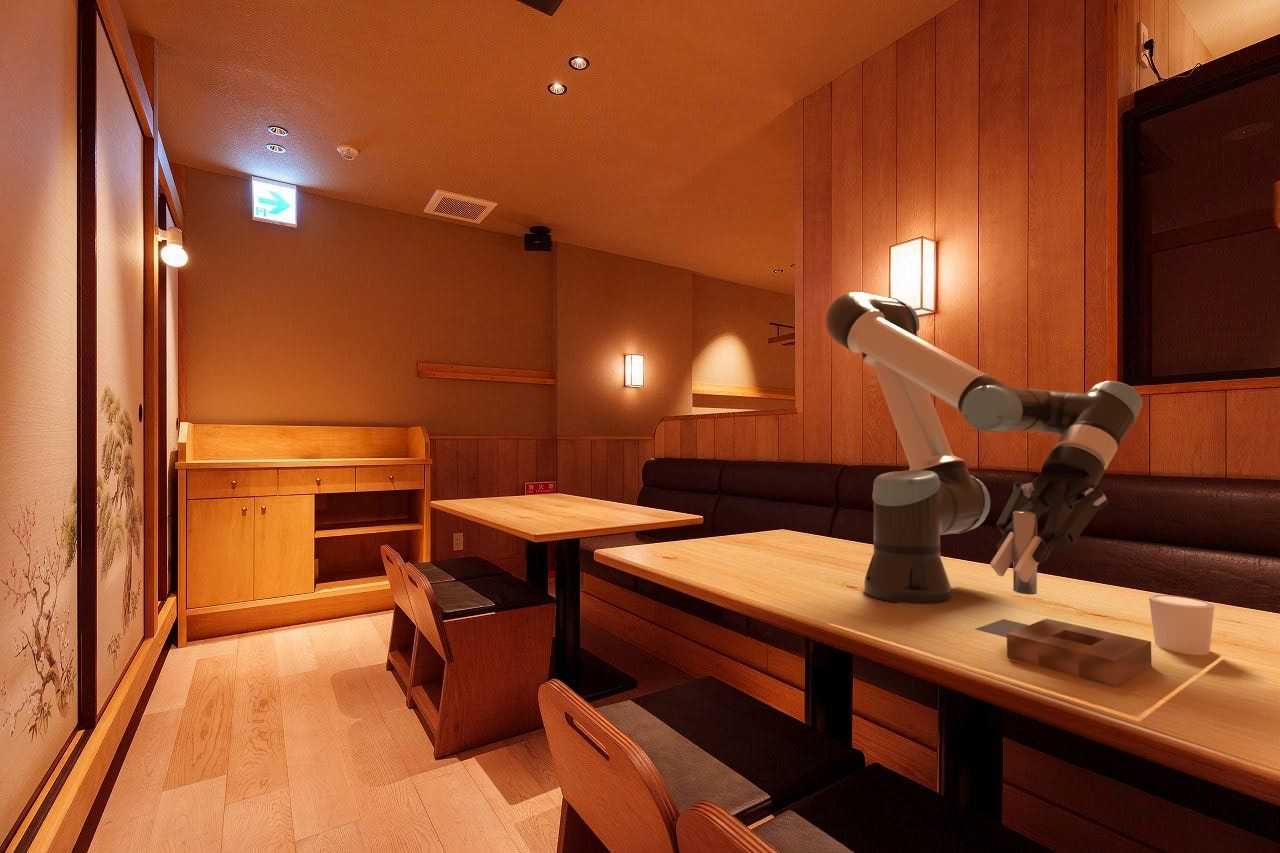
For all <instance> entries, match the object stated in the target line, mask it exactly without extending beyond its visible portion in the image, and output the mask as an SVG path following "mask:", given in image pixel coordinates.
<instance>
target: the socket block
mask: <svg viewBox="0 0 1280 853" xmlns="http://www.w3.org/2000/svg"><path fill="white" fill-rule="evenodd" d="M1027 625H1028V626H1026V627H1023V628H1020V629H1018V630H1015V631H1012V632H1010V633H1007V637H1006V656H1007V658H1008V659H1012V660H1016V661H1019V662H1023V663H1027V664H1029V665H1033V666H1038V667H1039V668H1040V667H1041V668H1044V669H1048V670H1052V671H1054V672H1058V673H1061V674H1065V675H1069V676H1072V677H1076V678H1080V679H1083V680H1086V681H1091V682H1093V683H1098V684H1102V685H1105V686H1108V687H1111V688H1118V687H1120V686H1121V685H1123V684H1124V683H1127V682H1128V681H1130V680H1131V679H1133V678H1135V677H1136V676H1138V675H1139V674H1141V673H1143V672H1144V671H1146V670H1147V669H1149V668H1151V667H1152V665H1153V664H1152V641H1150V640H1147V639H1146V640H1145V639H1143V638H1142V639H1141V638H1137V637H1132V636H1129V635H1123V634H1119V633H1115V632H1110V631H1105V630H1101V629H1097V628H1091V627H1088V626H1082V625H1078V624H1072V623H1070V622H1064V621H1059V620H1055V619H1051V618H1044V619H1042V620H1039V621H1037V622H1034V623H1032V624H1027Z"/></svg>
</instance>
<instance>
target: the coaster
mask: <svg viewBox="0 0 1280 853" xmlns="http://www.w3.org/2000/svg"><path fill="white" fill-rule="evenodd" d="M1028 625H1029V624H1026V623H1022V622H1019V621H1018V622H1017V621H1013V620H1008V619H1004V618H1002V619H999V620H997V621H994V622H991V623H989V624H985V625H983V626H980V627H977V628H975V630H977V631H980V632H984V633H988V634H991V635H996V636H1000V637H1004V638H1007V633H1010V632H1012V631H1015V630H1018V629H1020V628H1023V627H1026V626H1028Z"/></svg>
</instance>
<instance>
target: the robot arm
mask: <svg viewBox="0 0 1280 853" xmlns="http://www.w3.org/2000/svg"><path fill="white" fill-rule="evenodd" d="M825 328H826V331H827V332H828V335H829V336H830V338H831V339H832V340H834V342H836V343H837V344H839V345H840V346H842V347H844V348H846V349H847V350H849V351H851V352H853V353H854V354H861V356H862V359H863V362H864V363H865V364H866V365H868V366H870V367H873V369H874V371H875V374H876V376H877V380H878V383H879V385H880V388H881V390H882V393H883V396H884V398H885V402H886V405H887V408H888V410H889V413H890V415H891V416H890V417H891V418H892V421H893V424H894V426H895V430H896V432H897V434H898V438H899V440H900V443H901V446H902V450H903V452H904V454H905V458H906V460H907V462H908V466H909V469H908V470H900V471H898V470H896V471H891V472H890V471H888V472H885V473H881V474H880V475H877V476H876V478H875V479H874V481H873V486H872V488H873V489H872V494H871V498H872V499H871V500H872V515H873V516H872V518H873V519H872V520H873V521H872V522H873V527H872V529H873V553H872V557H871V560H870V562H869V564H868V569H867V571H866V574H865V577H864V593H865V594H866V595H868V596H869V597H873V598H875V599H879V600H881V601H886V602H892V603H896V604H897V603H905V604H914V605H935V604H943V603H947V602H950V601H951V599H952V586H951V583H950V581H949V577H948V574H947V571H946V569H945V566H944V564H943V561H942V557H941V536H943V535H951V534H954V535H957V534H958V535H960V534H962V533H966V532H969V531H971V530H974V529H976V528H978V527H979V526H980V525H981V524H982V523H984V522H985V520H986V519H987V516H988V515H989V512H990V509H991V497H990V493H989V491H988V489H987V487H986V486H985V484H984V482H982V481H981V480H980V479H978V478H976V477H974V476H973V475H971V474H970V472H969V470H968V467H967V464H966V462H965V460H964V459H963V458H961V457H958V456H956V455H954V453H953V450H952V449H951V448H952V447H951V446H950V443H949V440H948V438H947V436H946V433H945V431H944V428H943V425H942V423H941V420H940V418H939V415H938V413H937V410H936V406H935V405H934V402H933V399H932V397H931V395H932V396H935V397H936V398H938V399H939V400H941V401H943V402H944V403H946V404H947V405H949V406H951V407H952V408H954V409H956V410H958V411H959V412H961V413H962V415H963V417H964V419H965V421H966V422H967V424H968V425H970V426H971V427H972V428H974V429H976V430H980V431H984V432H988V433H1003V432H1006V433H1007V432H1024V433H1031V432H1032V433H1042V434H1050V435H1051V434H1052V435H1059V436H1060V437H1059V439H1058V440H1057V441H1056V443H1055V445H1054V446H1053V449H1052V450H1051V452H1050V453H1049V455H1048V456H1047V457H1046V459H1045V460H1044V462H1043V464H1042V466H1041V471H1040V474H1039V475H1038V476H1036V477H1035V478H1034V479H1033V480H1032V481H1031V482H1027V483H1022V482H1021V481H1019V480H1016V481H1015V482H1013V487H1012V488H1013V489H1012V493H1011V495H1010V497H1009V499H1008V501H1007V503H1006V504H1005V506H1004V508H1003V510H1002V512H1001V514H1000V516H999V518H998V520H997V521H996V524H995V525H996V527H997V528H998V529H999V531H1000V532H1001V534H1002V537H1001V539H1000V540H999V542H998V544H997V545H996V550H997V552H996V554H995V556H993V558H992V559H991V562H990V563H989V564H990V566H991V567H992V569H993V571H994V572H995V573H996V575H997V576H1000V577H1004V576H1005V574H1006V572H1007V571H1008V569H1009V568H1010V566H1011V564H1013V512H1014V511H1027V512H1035V513H1037V520H1038V519H1039V518H1040V517H1041V516H1042V515H1043V514H1044V513H1047V512H1049V510H1050V509H1051V510H1050V512H1049V515H1048V517H1047V519H1046V522H1045V525H1044V527H1043V530H1042V531H1039V532H1038V533H1039V535H1040V536H1041V537H1040V536H1038V535H1037V536H1034V538H1033V539H1032V541H1031V542H1030V544H1029V546H1028V547H1027V549H1026V550H1025V552H1024V554H1023V555H1022V557H1021V559H1020V560H1019V562H1018V563H1017V565H1016V567H1015V568H1014V570H1015V572H1016V573H1017V575H1018V576H1019V578H1020V579H1021V580H1022V581H1023V582H1028V580H1029V579H1030V577H1031V576H1032V574H1033V572H1034V571H1035V569H1036V567H1037V568H1038V566H1039V564H1044V563H1045V562H1046V561H1047V559H1048V558H1049V556H1050V555H1051V553H1052V551H1053V549H1056V548H1057V547H1064V548H1066V549H1067V548H1071V547H1073V545H1074V544H1075V542H1076V541H1077V540H1078V538H1079V537H1080V535H1081V534H1082V533H1083V531H1084V530H1085V528H1086V527H1087V526H1088V525H1089V523H1090V522H1091V520H1092V519H1093V518H1094V517H1095V515H1096V513H1097V512H1098V511H1100V510H1101V509H1102V508H1104V507H1105V506H1107V505H1108V504H1109V500H1108V498H1107V497H1106V495H1105V494H1104V492H1103V489H1101V488H1096V487H1097V485H1098V484H1099V482H1100V480H1101V478H1102V477H1103V476H1104V473H1105V470H1106V469H1107V468H1108V466H1109V465H1110V463H1111V461H1112V459H1113V458H1114V456H1115V454H1116V453H1117V451H1118V450H1119V448H1120V446H1121V444H1122V442H1123V441H1124V439H1125V437H1126V436H1127V435H1128V433H1129V431H1130V430H1131V428H1132V427H1133V426H1134V425H1135V424H1136V421H1137V418H1138V416H1139V413H1140V412H1141V409H1142V408H1143V399H1142V397H1141V394H1140V393H1139V392H1138V390H1136V389H1135V388H1134V387H1132V386H1131V385H1129V384H1126V383H1124V382H1121V381H1118V380H1105V381H1103V382H1099V383H1096V384H1095V385H1093V387H1091V388H1090V389H1089V390H1088V392H1086V393H1085V392H1068V391H1067V392H1066V391H1056V390H1046V389H1045V390H1044V389H1036V388H1035V389H1034V388H1028V387H1027V388H1026V387H1011V386H1009V385H1007V384H1004V383H1003V382H1001V381H999V380H997V379H995V378H994V377H991V376H989V374H987V373H985V372H983V371H981V370H979V369H977V368H975V367H973V366H972V365H969V364H968V363H966V362H965V361H962V360H960V359H958V358H957V357H955V356H953V355H951V354H949V353H948V352H946V351H944V350H942V349H940V348H939V347H936V346H934V345H932V344H931V343H929V342H927V341H926V340H923V339H922V338H919V337H918V332H919V330H920V318H919V316H918V314H917V311H916V310H915V309H914V307H912V306H911V305H910V304H909V303H907V302H905V301H903V300H900V299H898V298H896V297H895V298H894V297H889V296H887V297H883V296H880V295H879V296H878V295H875V294H869V293H865V292H861V291H860V292H859V291H858V292H857V291H854V292H848V293H845V294H843V295H841V296H839V297H838V298H836V299H835V300H834V301H833V302H832V303H831V305H830V307H829V308H828V309H827V312H826V316H825ZM930 394H931V395H930ZM1076 504H1077V505H1076Z"/></svg>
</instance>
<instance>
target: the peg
mask: <svg viewBox="0 0 1280 853" xmlns="http://www.w3.org/2000/svg"><path fill="white" fill-rule="evenodd" d="M1037 528H1038V519H1037V513H1035V512H1027V511H1014V512H1013V561H1012V566H1013V568H1012V569H1013V576H1012V578H1013V579H1012V580H1013V582H1012V583H1013V586H1012V590H1013V592H1015V593H1017V594H1021V595H1037V594H1038V566H1037V567H1036V569H1035V571H1034V572H1033V574H1032V576H1031V577H1030V579H1029V580H1028V582H1023V581H1022V580H1021V579H1020V578H1019V576H1018V575H1017V573H1016V572H1015V570H1014V568H1015V567H1016V565H1017V563H1018V562H1019V560H1020V559H1021V557H1022V555H1023V554H1024V552H1025V550H1026V549H1027V547H1028V546H1029V544H1030V542H1031V541H1032V539H1033V538H1034V536H1038V529H1037Z"/></svg>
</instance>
